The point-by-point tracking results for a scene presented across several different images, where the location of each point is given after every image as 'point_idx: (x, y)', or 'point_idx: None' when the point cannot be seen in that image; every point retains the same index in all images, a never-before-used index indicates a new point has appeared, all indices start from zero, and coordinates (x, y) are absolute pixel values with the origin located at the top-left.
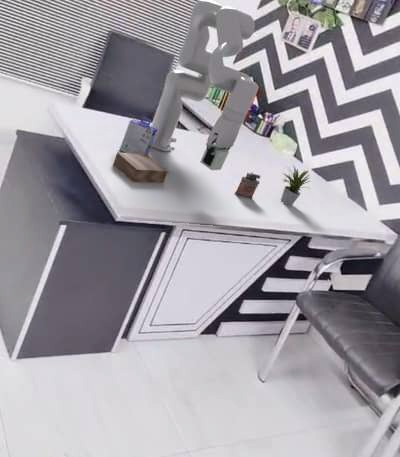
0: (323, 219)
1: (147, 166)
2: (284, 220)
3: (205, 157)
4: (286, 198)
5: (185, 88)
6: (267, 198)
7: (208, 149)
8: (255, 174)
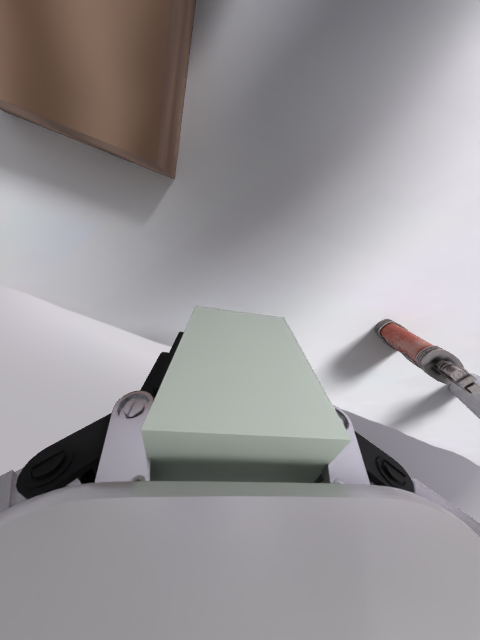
0: (446, 427)
1: (31, 53)
2: (355, 408)
3: (155, 364)
4: (465, 394)
5: None
6: None
7: (86, 441)
8: (472, 385)
